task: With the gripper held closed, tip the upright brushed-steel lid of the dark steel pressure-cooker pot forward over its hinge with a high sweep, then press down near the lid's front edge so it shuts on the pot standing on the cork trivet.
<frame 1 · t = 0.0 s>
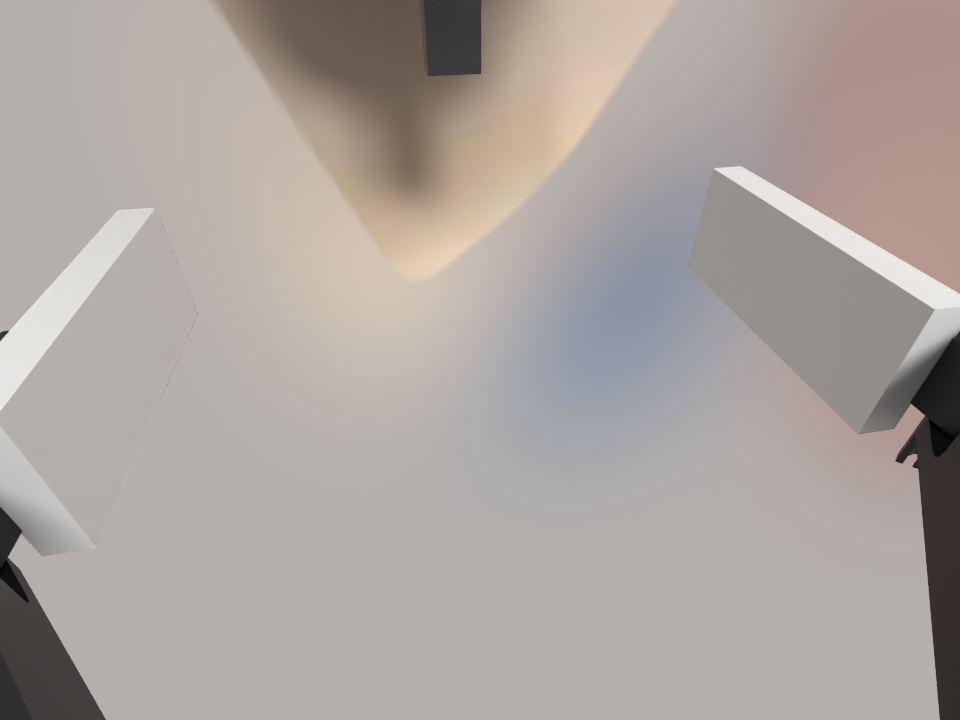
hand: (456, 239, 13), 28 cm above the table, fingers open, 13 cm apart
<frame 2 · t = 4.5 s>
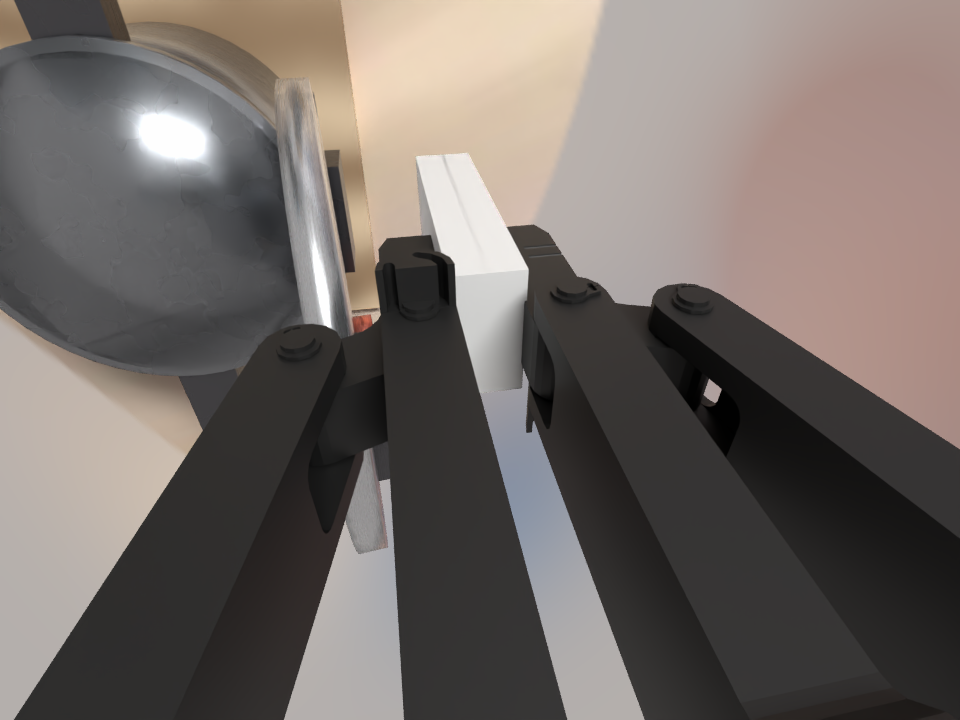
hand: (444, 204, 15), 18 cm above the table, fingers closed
trivet: (199, 166, 30), on the table
pot: (196, 170, 30), resting on trivet
lid: (365, 315, 18), point 17 cm above the table, hinge at 94.6°, touching gripper
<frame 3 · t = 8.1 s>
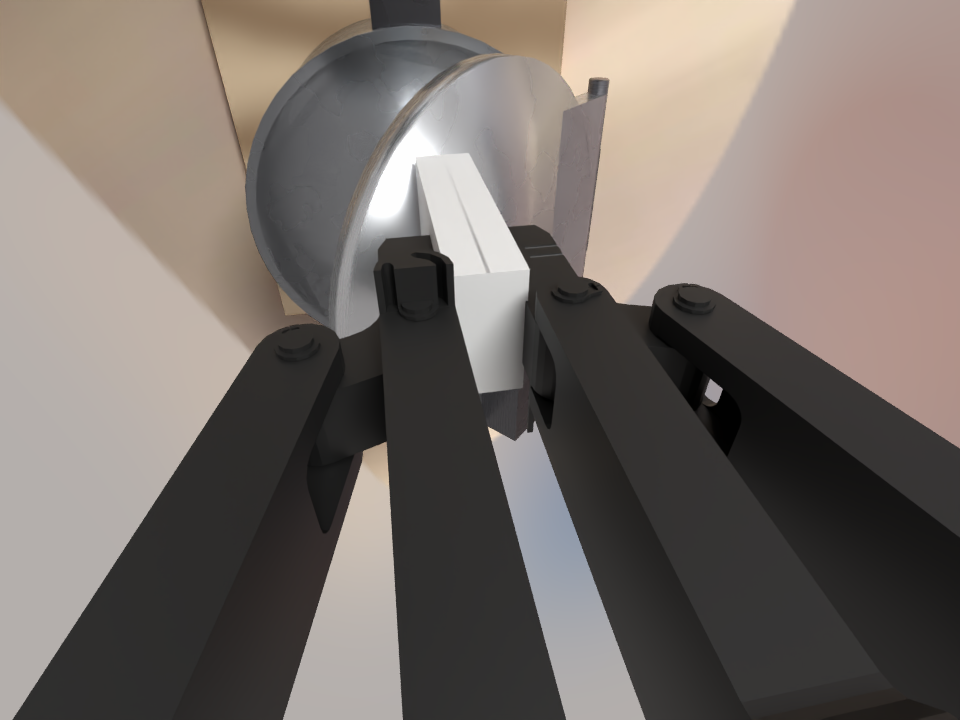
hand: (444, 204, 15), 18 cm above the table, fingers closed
trivet: (405, 153, 32), on the table
pot: (406, 156, 31), resting on trivet
lid: (512, 276, 20), point 16 cm above the table, hinge at 42.4°, touching gripper
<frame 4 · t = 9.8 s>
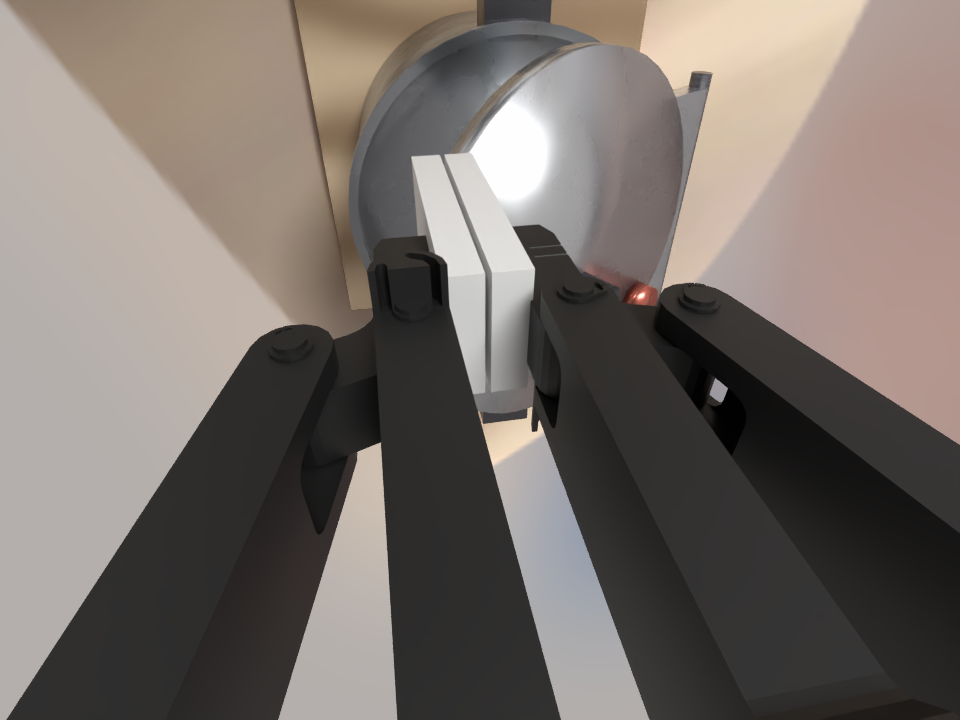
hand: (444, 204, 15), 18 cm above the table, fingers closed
trivet: (478, 148, 32), on the table
pot: (480, 151, 31), resting on trivet
lid: (588, 258, 21), point 15 cm above the table, hinge at 31.0°, touching gripper
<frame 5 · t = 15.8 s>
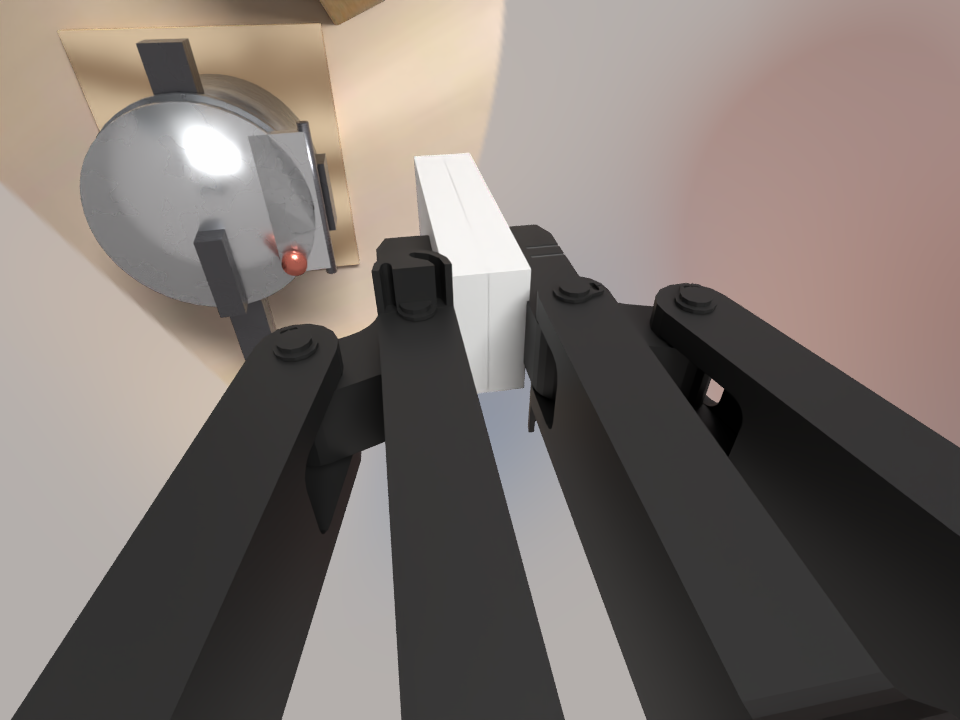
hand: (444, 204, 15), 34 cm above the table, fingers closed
trivet: (234, 164, 45), on the table
pot: (233, 166, 45), resting on trivet
lid: (210, 218, 36), point 12 cm above the table, hinge at 4.4°
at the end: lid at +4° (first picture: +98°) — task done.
